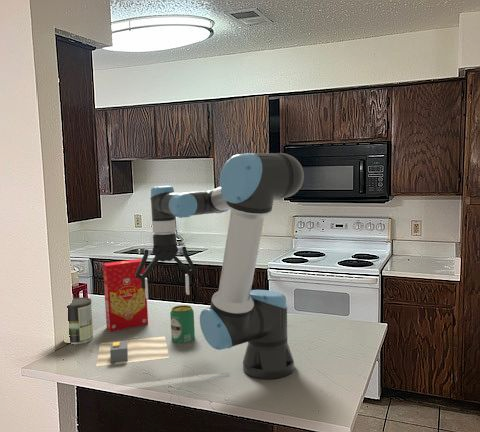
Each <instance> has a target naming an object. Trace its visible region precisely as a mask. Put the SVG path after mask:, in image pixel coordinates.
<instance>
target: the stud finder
mask: <svg viewBox="0 0 480 432" xmlns="http://www.w3.org/2000/svg"><path fill="white" fill-rule="evenodd" d="M110 342H111V348H110V355H111V363H114V362H122V361H128V344H127V340H120V341H119V342H118V341H110Z"/></svg>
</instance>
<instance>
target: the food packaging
mask: <svg viewBox="0 0 480 432" xmlns="http://www.w3.org/2000/svg"><path fill="white" fill-rule="evenodd" d="M141 260H142V258H138V259H129V260H121V261H115V262H114V261H112V262H105V263H102V272H103V273H102V274H103V275H102V276H103V289H104V305H105V319H106V320H105V321H106V329H107V330H108V331H109V332H116V331H120V330H121V331H122V330H126V329H131V328H135V327H140V326H144V325H145V326H146V325H148V324H149V314H148V313H149V312H148V299H146V297H145V289H142V287H141V279H140V278H136V276H135V274H136V271H137V269H138V267H139V265H140V262H141ZM145 269H146V264H145V265H144V267H143V269H142V272H141V274H142V273H143V272H144V271H145Z"/></svg>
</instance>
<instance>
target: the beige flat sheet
mask: <svg viewBox="0 0 480 432" xmlns="http://www.w3.org/2000/svg"><path fill="white" fill-rule="evenodd" d="M126 341H127V344H128V361H122V362H114V363H111V355H110V348H111V342H112V341H110V342H109V341H107V342H100V343H99V348H98V353H97V360H96V365H95V366H96V368H97V367H105V366H112V365H113V366H114V365H121V364H130V363H138V362H147V361H155V360H164V359H170V354H169V349H168V344H167V340H166V336H157V337H155V336H154V337H147V338H146V337H145V338H139V339H138V338H136V339H129V340H126ZM117 342H119V341H118V340H117Z"/></svg>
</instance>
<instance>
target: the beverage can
mask: <svg viewBox="0 0 480 432" xmlns="http://www.w3.org/2000/svg"><path fill="white" fill-rule="evenodd" d="M170 333H171V341H172V342H173V343H177V344H179V343H181V344H183V343H184V344H185V343H190V342H192V341H194V340H195V339H196V337H195V335H196V334H195V333H196V332H195V312H194V309H193V307H192V306H191V305H187V304H183V305H176V306H173V307H172V308H171V311H170Z"/></svg>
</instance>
